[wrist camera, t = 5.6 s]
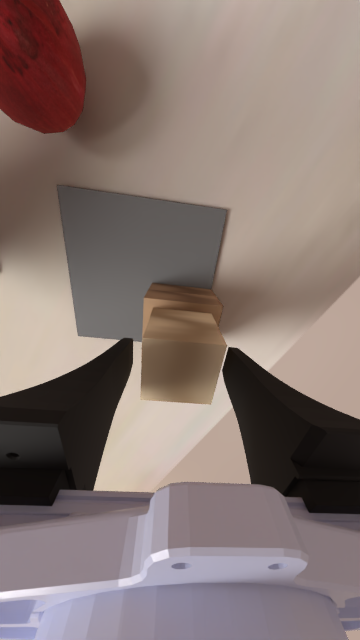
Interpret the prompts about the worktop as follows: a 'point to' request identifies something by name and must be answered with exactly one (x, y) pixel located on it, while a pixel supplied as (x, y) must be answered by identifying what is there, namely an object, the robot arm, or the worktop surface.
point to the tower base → (181, 289)
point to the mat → (132, 254)
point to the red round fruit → (40, 65)
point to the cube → (181, 356)
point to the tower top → (180, 304)
